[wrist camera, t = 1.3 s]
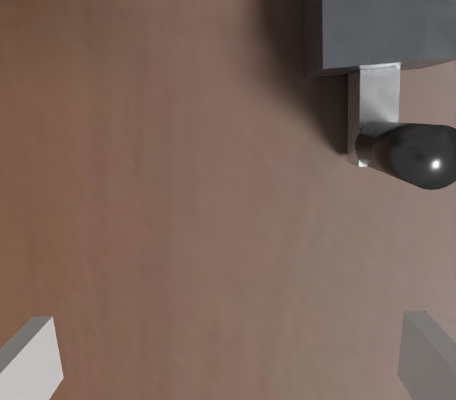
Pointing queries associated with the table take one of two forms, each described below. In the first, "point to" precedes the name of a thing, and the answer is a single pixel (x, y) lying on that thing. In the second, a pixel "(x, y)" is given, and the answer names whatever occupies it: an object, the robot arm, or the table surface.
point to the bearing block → (377, 35)
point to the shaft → (395, 133)
